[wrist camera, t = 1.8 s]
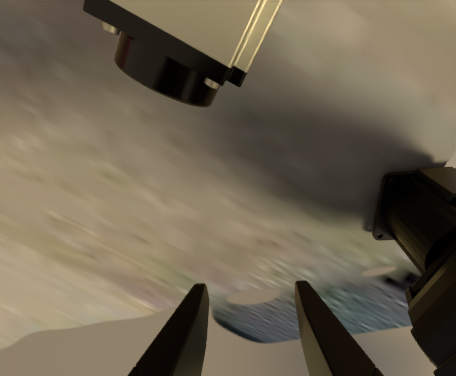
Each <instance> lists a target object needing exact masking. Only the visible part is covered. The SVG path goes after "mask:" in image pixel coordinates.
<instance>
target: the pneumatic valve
mask: <svg viewBox="0 0 456 376" xmlns="http://www.w3.org/2000/svg"><path fill="white" fill-rule="evenodd" d="M282 2H283V0H85V1H84V6H83V10H84V11H85V12H87V13H89V14H91V15H93V16H94V17H96V18H98V19H100V20H102V21H103V23H102V28H103V29H104V30H106V31H108V32H110V33H112V34H115V35H119V33H120V31H121V35H120V39H119V43H118V47H117V51H116V54H115V63H116V65H117V66H118V67H119V68H120V69H121V70H122V71H123V72H124V73H125V74H127V75H128V76H130V77H131V78H132V79H134V80H136V81H137V82H139V83H141V84H142V85H144V86H146V87H148V88H150V89H151V90H153V91H155V92H158V93H160V94H162V95H164V96H166V97H169V98H171V99H174V100H176V101H179V102H182V103H185V104H188V105H192V106H197V107H209V106H210V105H211V104H212V102H213V100H214V97H215V95H216V93H217V91H218V89H219V87H220V85H221V86H223V85H224V83H225V81H226V80H227V81H229V82H231V83H232V84H234V85H236V86H238V87H241V85H242V83H243V81H244V78H245V76H246V74H247V72H248V70H249V68H250V66H251V64H252V62H253V60H254V58H255V56H256V54H257V52H258V50H259V48H260V46H261V44H262V42H263V40H264V38H265V36H266V34H267V32H268V30H269V28H270V26H271V24H272V22H273V20H274V18H275V16H276V14H277V12H278V10H279V8H280V6H281V4H282Z"/></svg>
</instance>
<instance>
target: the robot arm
mask: <svg viewBox="0 0 456 376" xmlns="http://www.w3.org/2000/svg"><path fill="white" fill-rule="evenodd" d="M390 178H393V179H392V180H391V181H389V179H390ZM378 234H380V235H378ZM372 235H373V237H374V238H375V239H376V240H395V241H396V242H397V244H398V245H399V246H400V247H401V249H402V250H403V251H404V252H405V254H406V255H407V256H408V257H409V259H410V260H411V261H412V263H413V264H414V265H415V266H416V268H417V269H418V270H419V271H420V273H421V274H422V275H421V276H420V278H419V279H418V280H417V281H416V282H415V283H414V285H413V286H412V287H409V288H408V289H407V290H406V291H405V295H406V299H407V303H408V306H409V309H408V314H409V317H410V320H411V323H412V326H413V328H412V329H411V333H412V335H413V337H414V339H415V341H416V342H417V344H418V345H419V347H420V348H421V349H422V351H423V352H424V353H425V355H426V356H427V357H428V358H429V360H430V361H431V362H432V363H433V364H434V365H435V366H436V367H437V369H436V370H435V371H434V375H435V376H456V168H453V167H438V168H423V169H417V170H415V171H408V172H393V173H388V174H386V175H385V176H384V177H383V180H382V186H381V191H380V196H379V201H378V206H377V211H376V217H375V222H374V227H373V232H372ZM295 304H296V311H297V317H298V324H299V331H300V337H301V343H302V348H303V352H304V356H305V360H306V363H307V367H308V371H309V375H310V376H384V375H383V374H382V373H381V372H380V370H379V369H378V368H375V364H374V363H373V362H372V361H371V359H370V358H369V357H368V356H367V355H366V354H365V352H364V351H363V350H362V348H361V347H360V346H359V345H358V344H357V342H356V341H355V340H354V338H353V337H352V336H351V335H350V333H349V332H348V331H347V330H346V329H345V327H344V326H343V325H342V324H341V322H340V321H339V320H338V319H337V317H336V316H335V315H334V314H333V312H332V311H331V310H330V309H329V308H328V306H327V305H326V304H325V303H324V301H323V300H322V299H321V298H320V296H319V295H318V294H317V293H316V291H315V290H314V289H313V288H312V287H311V285H310V284H309V283H308V282H307V281H296V282H295ZM208 311H209V296H208V291H207V286H206V284H205V283H197V284H195V285H194V286H193V287H192V288H191V290H190V291H189V293H188V294H187V295H186V297H185V298H184V299H183V301H182V302H181V303H180V305H179V306H178V308H177V309H176V310H175V312H174V313H173V315H172V316H171V317H170V318H169V320H168V321H167V323H166V324H165V325H164V327H163V328H162V329H161V331H160V332H159V334H158V335H157V336H156V338H155V339H154V340H153V342H152V343H151V345H150V346H149V347H148V349H147V350H146V351H145V353H144V354H143V355H142V357H141V358H140V360H139V361H138V362H137V364H136V366H135V367H133V369H132V370H131V372H130V373H129V374H128V376H201V372H202V367H203V361H204V355H205V349H206V341H207V327H208V313H209V312H208Z"/></svg>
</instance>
